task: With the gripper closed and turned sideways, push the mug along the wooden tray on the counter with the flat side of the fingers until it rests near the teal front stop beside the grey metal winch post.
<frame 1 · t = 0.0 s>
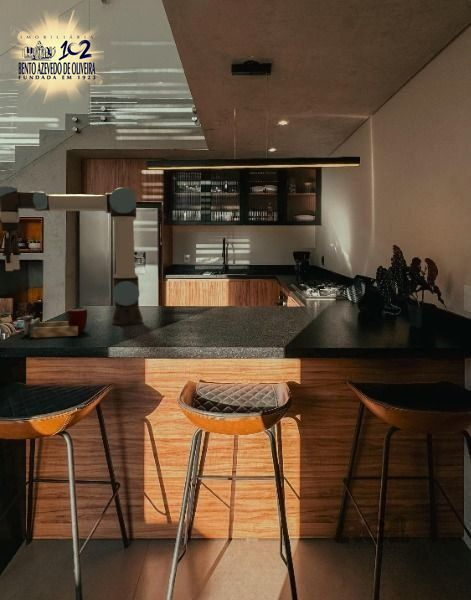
hand: (13, 270, 220), 28 cm above the table, fingers open, 13 cm apart
mug: (77, 332, 221), on the table
winch post: (28, 334, 217), on the table
wooden tray: (58, 333, 219), on the table
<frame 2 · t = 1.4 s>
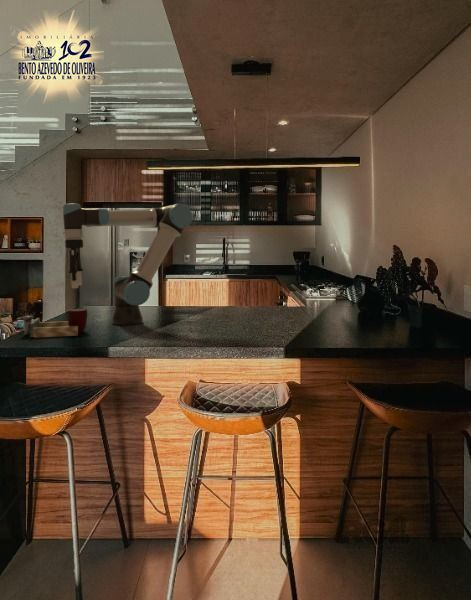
hand: (77, 286, 221), 20 cm above the table, fingers open, 13 cm apart
nothing on the table moved.
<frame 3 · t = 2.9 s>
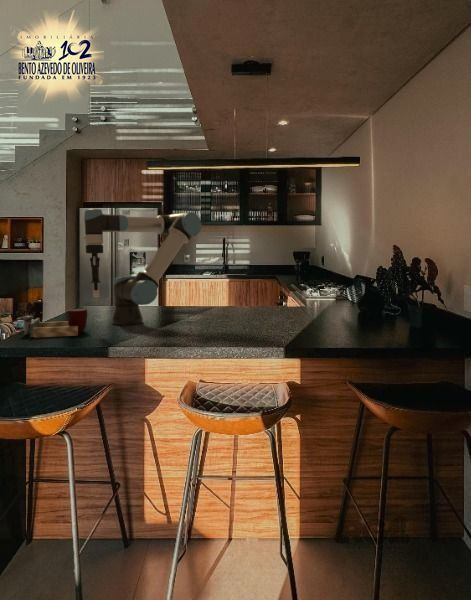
hand: (96, 297, 221), 16 cm above the table, fingers closed
nothing on the table moved.
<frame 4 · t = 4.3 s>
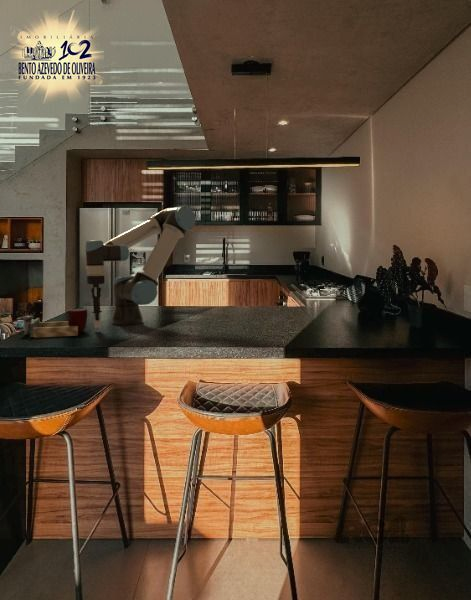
hand: (97, 327, 223), 2 cm above the table, fingers closed
nothing on the table moved.
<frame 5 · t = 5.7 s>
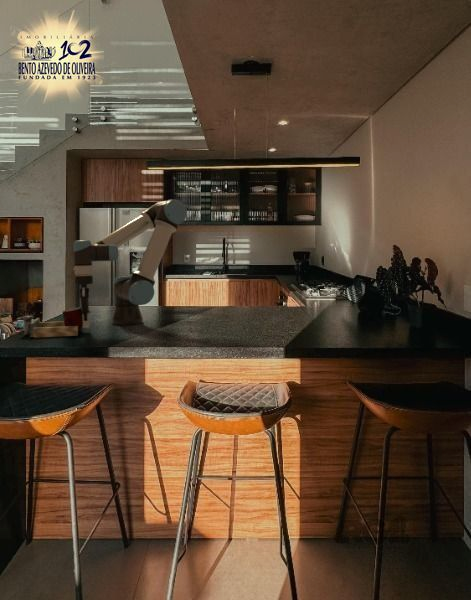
hand: (86, 327, 221), 2 cm above the table, fingers closed
mug: (75, 332, 221), on the table, touching gripper
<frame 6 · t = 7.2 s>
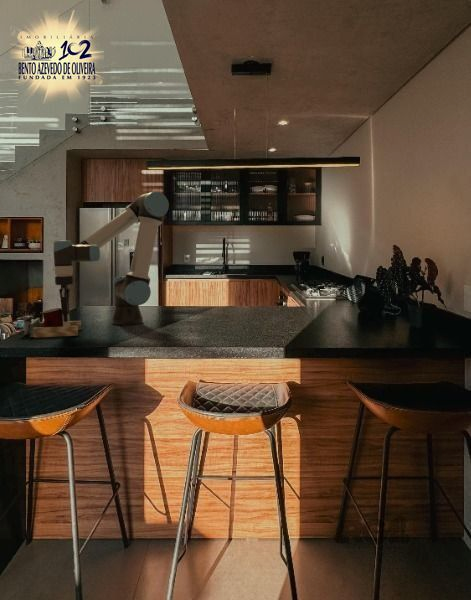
hand: (66, 328, 220), 2 cm above the table, fingers closed
mug: (56, 332, 219), on the table, touching gripper
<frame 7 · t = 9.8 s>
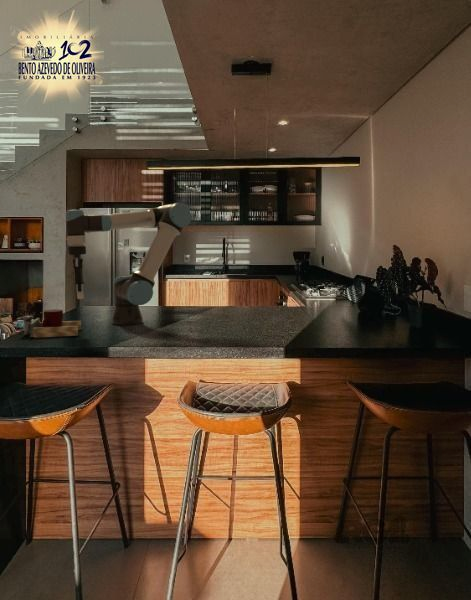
hand: (80, 298, 220), 15 cm above the table, fingers closed
mug: (52, 333, 219), on the table
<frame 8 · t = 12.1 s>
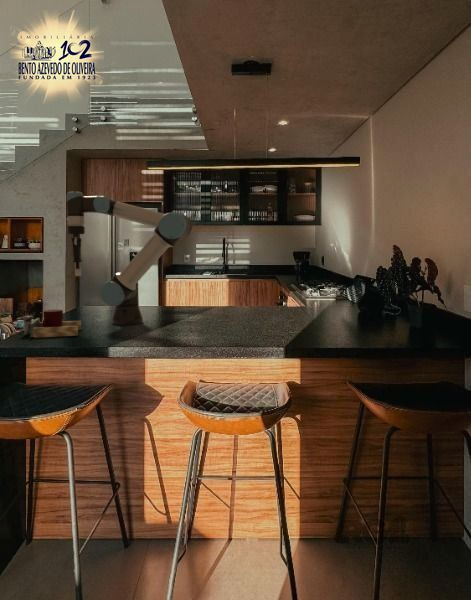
hand: (78, 275, 234), 24 cm above the table, fingers closed
nothing on the table moved.
at the end: mug inside the target area (1.3 cm from its centre), on the table; mug tilted 1°; mug moved 10.6 cm from its start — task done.
